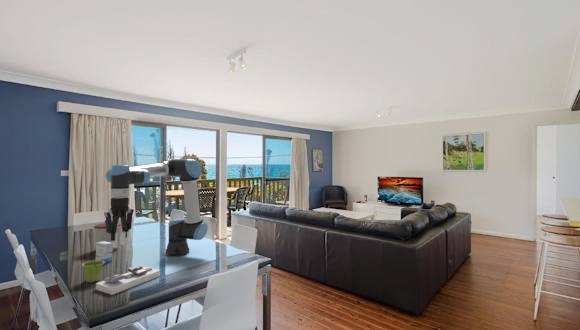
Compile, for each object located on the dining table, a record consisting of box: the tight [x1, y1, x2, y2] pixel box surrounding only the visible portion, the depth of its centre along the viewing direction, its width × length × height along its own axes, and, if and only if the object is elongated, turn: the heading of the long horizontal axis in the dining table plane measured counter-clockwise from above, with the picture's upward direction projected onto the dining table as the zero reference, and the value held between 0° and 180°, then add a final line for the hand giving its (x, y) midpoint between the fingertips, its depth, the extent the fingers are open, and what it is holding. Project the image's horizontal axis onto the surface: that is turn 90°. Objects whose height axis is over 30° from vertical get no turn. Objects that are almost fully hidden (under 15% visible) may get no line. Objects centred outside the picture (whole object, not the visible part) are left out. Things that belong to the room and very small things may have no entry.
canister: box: [91, 219, 122, 251], centre depth 199 cm, size 18×18×21 cm
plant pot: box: [81, 260, 105, 283], centre depth 146 cm, size 9×9×9 cm
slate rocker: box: [103, 273, 125, 283], centre depth 137 cm, size 8×5×3 cm, turn 64°
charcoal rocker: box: [127, 264, 147, 276], centre depth 148 cm, size 8×5×3 cm, turn 64°
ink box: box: [95, 241, 114, 264], centre depth 175 cm, size 9×5×12 cm, turn 71°
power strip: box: [95, 266, 161, 296], centre depth 144 cm, size 12×26×3 cm, turn 154°
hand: (118, 246), depth 136 cm, fingers open, 3 cm apart
